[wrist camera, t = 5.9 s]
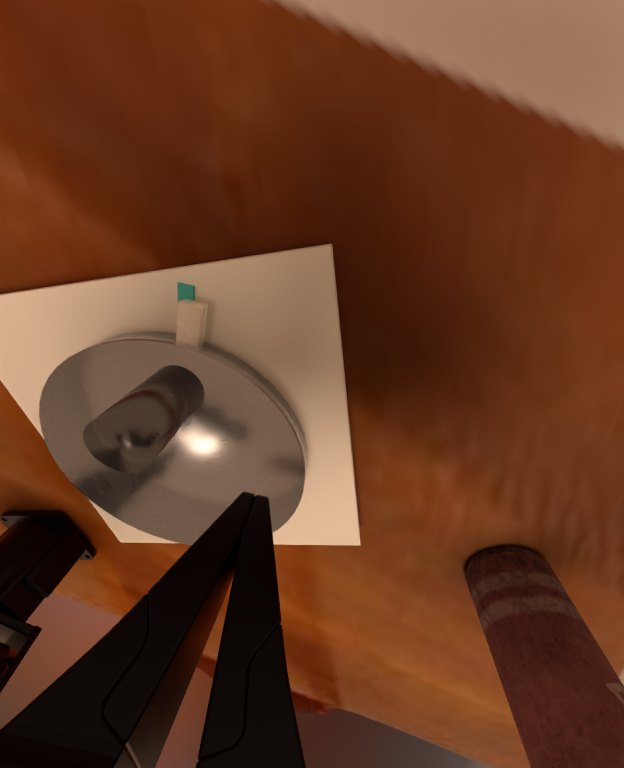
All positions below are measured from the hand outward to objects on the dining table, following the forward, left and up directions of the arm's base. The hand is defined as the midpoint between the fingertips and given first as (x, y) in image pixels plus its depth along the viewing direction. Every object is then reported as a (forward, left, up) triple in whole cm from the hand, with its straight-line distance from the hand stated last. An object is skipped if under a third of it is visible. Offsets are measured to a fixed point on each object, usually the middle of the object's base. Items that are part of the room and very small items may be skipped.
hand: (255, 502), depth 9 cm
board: (-7, -3, -9) cm, 12 cm away
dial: (-7, -2, -7) cm, 10 cm away
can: (+14, -18, -9) cm, 25 cm away
